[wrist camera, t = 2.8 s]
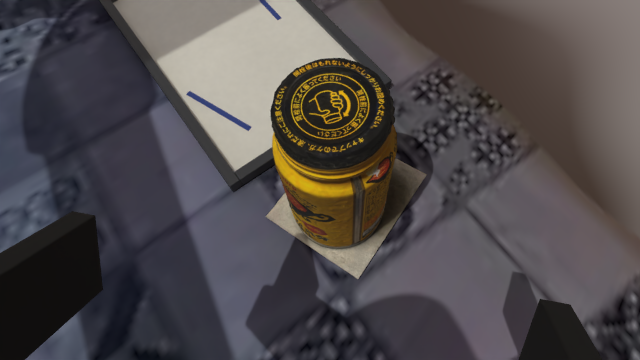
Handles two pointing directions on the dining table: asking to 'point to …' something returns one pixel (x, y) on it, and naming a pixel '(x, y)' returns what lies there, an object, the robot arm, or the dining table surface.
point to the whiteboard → (230, 66)
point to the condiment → (338, 161)
